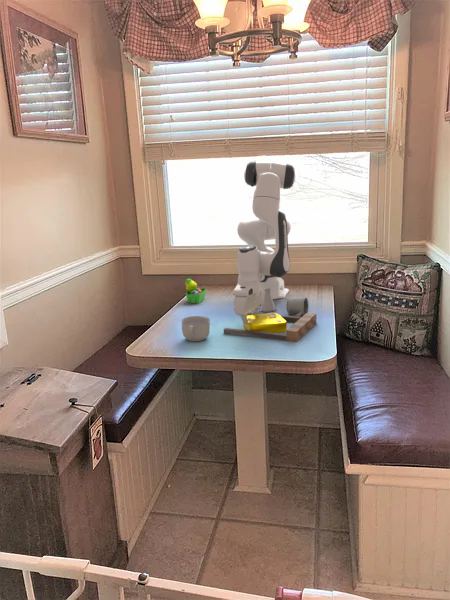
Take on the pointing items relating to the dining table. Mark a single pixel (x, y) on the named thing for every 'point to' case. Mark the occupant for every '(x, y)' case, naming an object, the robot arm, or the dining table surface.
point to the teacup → (195, 328)
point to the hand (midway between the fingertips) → (250, 320)
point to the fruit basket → (194, 292)
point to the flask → (268, 302)
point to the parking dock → (291, 334)
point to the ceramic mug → (297, 306)
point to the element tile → (266, 323)
